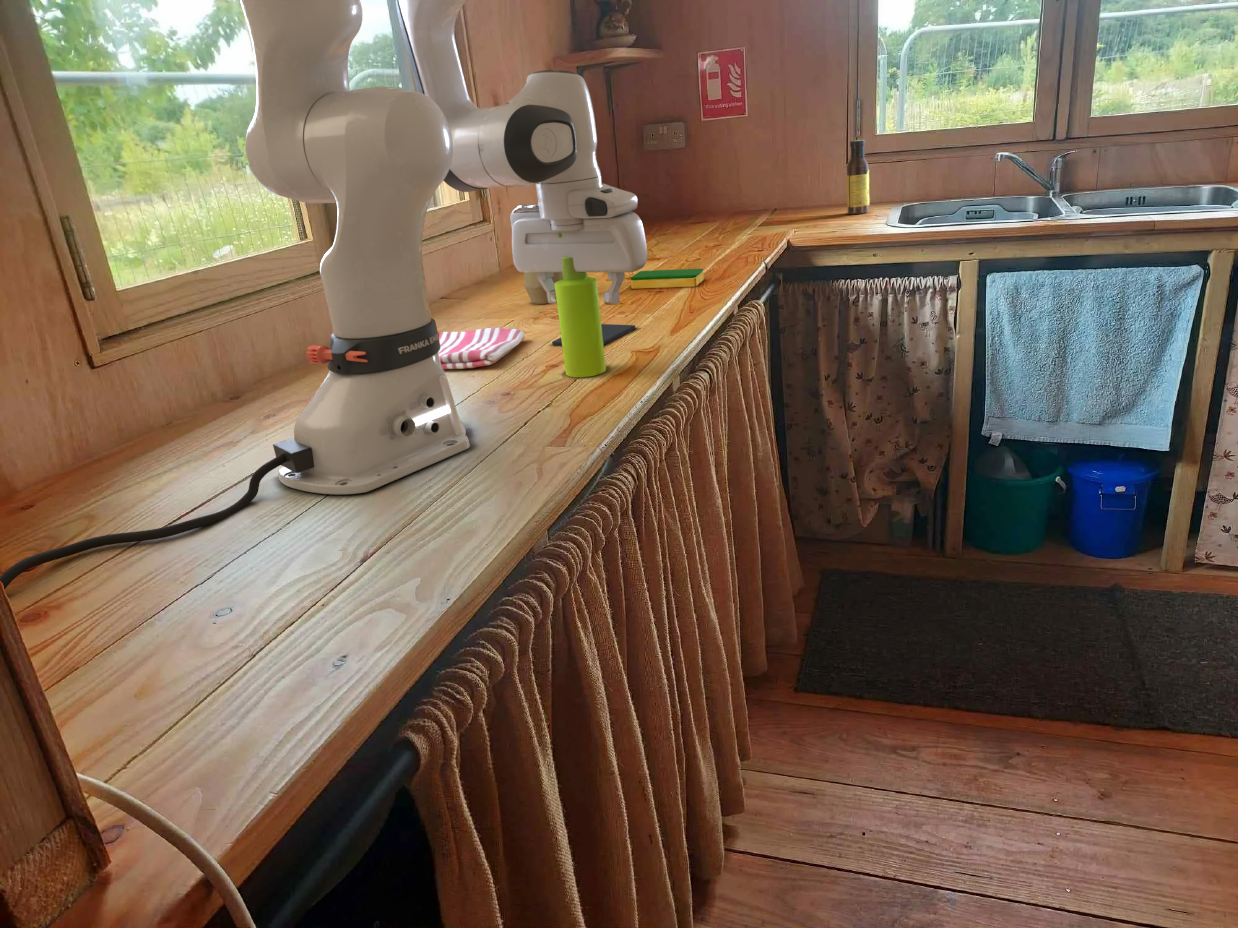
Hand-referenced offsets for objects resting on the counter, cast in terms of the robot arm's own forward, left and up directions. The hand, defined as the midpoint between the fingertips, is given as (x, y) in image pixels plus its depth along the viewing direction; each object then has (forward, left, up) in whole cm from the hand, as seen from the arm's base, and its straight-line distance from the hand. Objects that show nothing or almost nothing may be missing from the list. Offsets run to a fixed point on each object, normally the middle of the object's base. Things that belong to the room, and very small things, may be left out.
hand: (583, 303), depth 123 cm
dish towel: (+2, +29, -10) cm, 31 cm away
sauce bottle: (+158, +5, -10) cm, 158 cm away
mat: (+18, +10, -10) cm, 23 cm away
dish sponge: (+59, +17, -10) cm, 62 cm away
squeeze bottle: (+42, +36, -10) cm, 56 cm away
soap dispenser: (0, 0, -10) cm, 10 cm away
